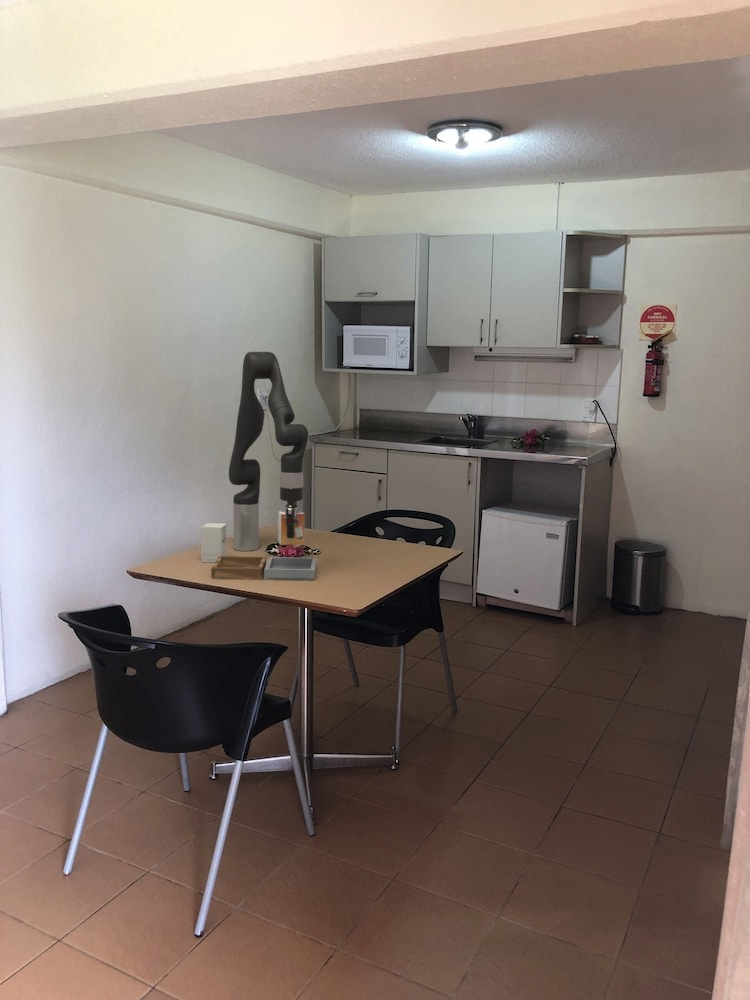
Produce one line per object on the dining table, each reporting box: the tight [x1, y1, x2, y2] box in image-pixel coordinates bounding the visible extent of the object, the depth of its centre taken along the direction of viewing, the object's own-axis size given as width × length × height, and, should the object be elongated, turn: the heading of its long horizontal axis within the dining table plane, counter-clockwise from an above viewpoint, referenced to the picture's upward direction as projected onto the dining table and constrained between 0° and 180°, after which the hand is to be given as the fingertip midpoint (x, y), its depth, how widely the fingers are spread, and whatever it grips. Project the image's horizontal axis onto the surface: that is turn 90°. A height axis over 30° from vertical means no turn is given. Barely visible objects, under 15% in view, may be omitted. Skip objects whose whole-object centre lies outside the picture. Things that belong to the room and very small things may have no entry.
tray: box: [263, 556, 317, 581], centre depth 274 cm, size 16×16×4 cm
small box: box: [277, 510, 306, 546], centre depth 272 cm, size 8×6×10 cm
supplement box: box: [200, 522, 227, 564], centre depth 288 cm, size 7×7×13 cm
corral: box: [210, 555, 267, 581], centre depth 274 cm, size 16×16×4 cm
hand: (291, 535), depth 272 cm, fingers closed on small box, 6 cm apart
